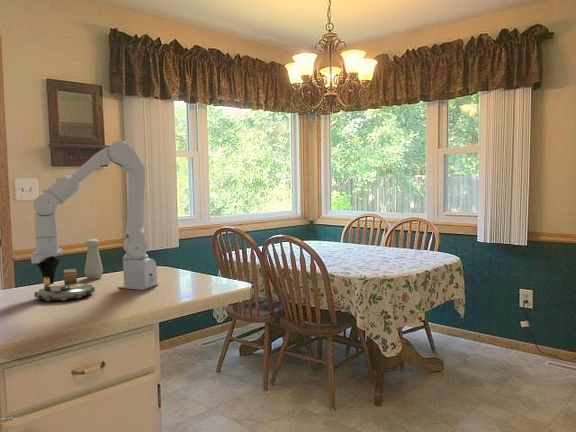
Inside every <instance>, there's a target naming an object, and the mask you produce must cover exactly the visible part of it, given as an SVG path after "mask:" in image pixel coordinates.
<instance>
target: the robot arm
mask: <svg viewBox="0 0 576 432" xmlns="http://www.w3.org/2000/svg"><path fill="white" fill-rule="evenodd" d="M112 163H113V164H115V165H117V166H118V167H121V169H122V170H123V171H125V173H127V176H128V181H127V184H128V185H127V214H126V215H127V216H126V220H127V223H126V229H125V237H124V238H123V240H122V249H123V250H124V251H125V254H124V255H123V256H122V268H123V269H122V272H123V284H121V285H117V289H125V290H126V289H128V290H129V289H130V290H141V291H143V290H147V289H150V288H152V287H156V286H158V285H159V284H160V283H159V282H158V273H157V267H158V266H157V263H156V261H155V259H153V258H150V257H149V256H148V254H147V252H148V244H147V242H146V240H145V239H146V238H145V228H144V220H145V219H144V217H145V215H144V214H145V183H146V181H145V180H146V179H145V178H146V169H145V166H144V164H143V162H142V160H141V159H140V158H139V156H138V154H137V152H136V151H135V149H134V148H133V147H132V146H131V145H130V144H128V143H127V142H126V141H123V140H115V141H113V142H112V143H111V144H110V145H108V146H106V147H104V148H102V149H101V150H99V151H98V152H96V153H94V154H93V156H91V157H89V159H88V160H87V161H86V162H85V163H84V164H82V165H81V166H80V167H79V168H78V169H77V170H76V171H75V172H74V173H72V174H71V175H68V174H66V175H65V174H64V175H62V176H61V177H60V176H57V177H56V178H55V180H56V181H55V182H54V183H53V184H51V185H50V186H49V187H48V188H47V189H46V188H44V189H43V190H42V194H39V195H37V197H36V198H35V199H34V201H33V209H34V211H35V213H34V234H35V235H34V237H35V251H33V252H31V256H30V259H31V260H30V261H31V264H36V265H37V267H38V268H39V270H40V272H41V275H42V281H43V282H44V277H50V285H53V284H54V283H55V278H56V277H55V275H56V271H57V267H58V265H59V263H60V262H61V259H60V257H59V258H58V257H57V256H63V248H62V247H61V248H60V247H59V235H58V234H59V233H58V220H57V217H56V214H57V213H56V211H57V208H58V205H61V206H62V205H63V204H64V203H65V202H67V201H68V200H69V199H70V198H71V197H72V196H74V195H75V194H76V193H77V192H78V191H79V190H80V187H79V186H80V183H81V182H83V181H84V180H85V179H86V178H87V177H89V176H90V175H91V174H92V173H94V172H95V171H96V170H97V169H99V168H100V167H101V166H105V165H110V164H112Z"/></svg>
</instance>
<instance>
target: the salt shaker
mask: <svg viewBox="0 0 576 432" xmlns="http://www.w3.org/2000/svg"><path fill="white" fill-rule="evenodd" d="M99 246H100V240H98V239H95V238H91V239H87V240H85V247H86V248H87V250H86V251H87V252H86V259H85V265H84V270H83V271H84V275H85V276H86V278H87V279H88V280H99V279H101V278H102V276H103V272H104V270H103V269H104V268H103V265H102V260H101V256H100V251H99Z"/></svg>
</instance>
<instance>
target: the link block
mask: <svg viewBox="0 0 576 432" xmlns="http://www.w3.org/2000/svg"><path fill="white" fill-rule="evenodd" d="M77 272H78V271H77V268H72V269H71V268H69V269H63V281H64V283H63V285H65V284H69V285H72V284H78V277H77V276H78V275H77V274H78V273H77Z"/></svg>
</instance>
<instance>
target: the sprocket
mask: <svg viewBox="0 0 576 432" xmlns="http://www.w3.org/2000/svg"><path fill="white" fill-rule="evenodd" d="M95 289H96V288H95V286H93V284H86V283H77V284H72V285H69V284H65V285H64V284H62V285H51V284H50V277H44V281H43V288H40V289H38V291H35V292H34V298H36V300H38V301H41V300H43V301H45V302H51V301H66V300H72V299H80V298H82V297H85V296H91V295H92V293H95Z"/></svg>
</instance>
